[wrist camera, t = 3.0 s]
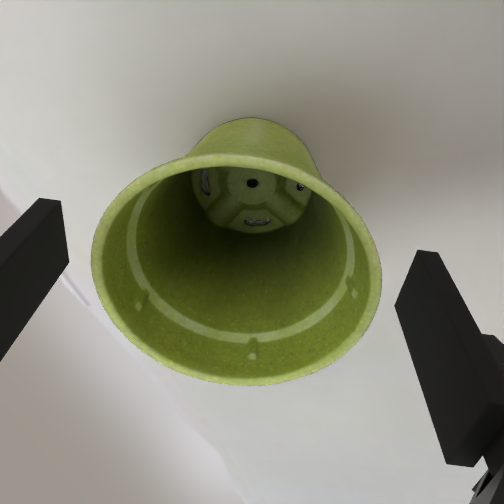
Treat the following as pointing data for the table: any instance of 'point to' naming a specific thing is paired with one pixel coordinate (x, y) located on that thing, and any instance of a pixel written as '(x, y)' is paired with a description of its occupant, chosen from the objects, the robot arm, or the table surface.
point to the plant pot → (237, 261)
